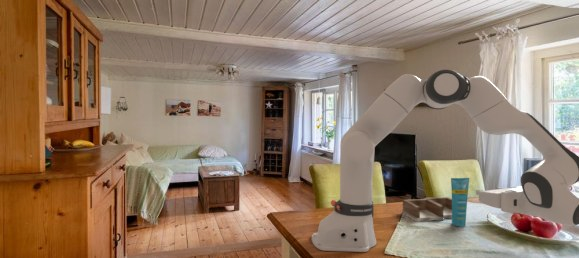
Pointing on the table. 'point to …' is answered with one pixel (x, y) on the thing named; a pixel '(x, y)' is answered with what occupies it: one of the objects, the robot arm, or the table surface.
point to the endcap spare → (444, 202)
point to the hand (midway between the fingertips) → (487, 190)
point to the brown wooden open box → (422, 210)
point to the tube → (459, 200)
